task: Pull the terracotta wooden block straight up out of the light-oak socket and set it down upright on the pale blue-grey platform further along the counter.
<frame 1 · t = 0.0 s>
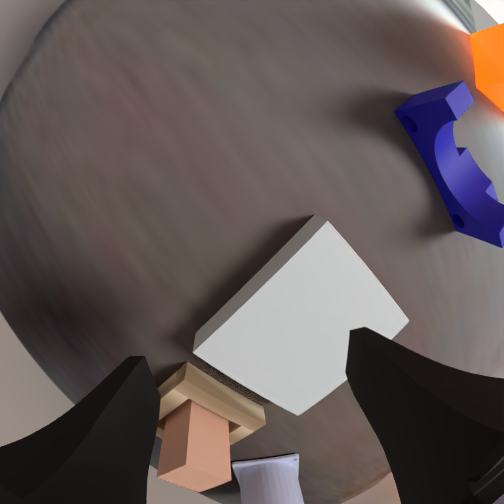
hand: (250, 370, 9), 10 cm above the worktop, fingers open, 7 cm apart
orange juice: (494, 79, 15), on the worktop
socket: (197, 409, 22), on the worktop
cable clip: (442, 160, 18), on the worktop
block: (195, 441, 18), in the socket
platform: (303, 322, 20), on the worktop
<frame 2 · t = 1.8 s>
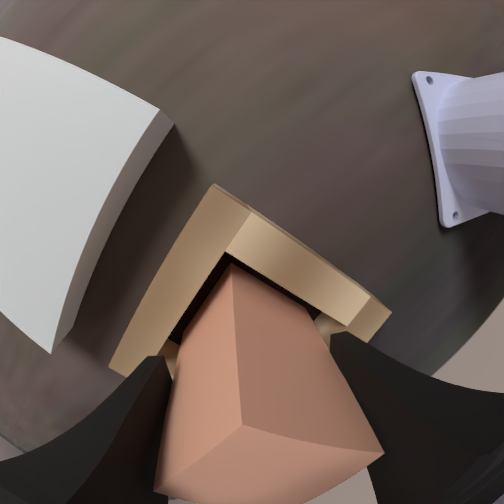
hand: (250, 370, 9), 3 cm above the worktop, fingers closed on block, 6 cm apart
socket: (244, 321, 12), on the worktop
block: (251, 380, 8), in the socket, touching gripper
platform: (22, 174, 9), on the worktop
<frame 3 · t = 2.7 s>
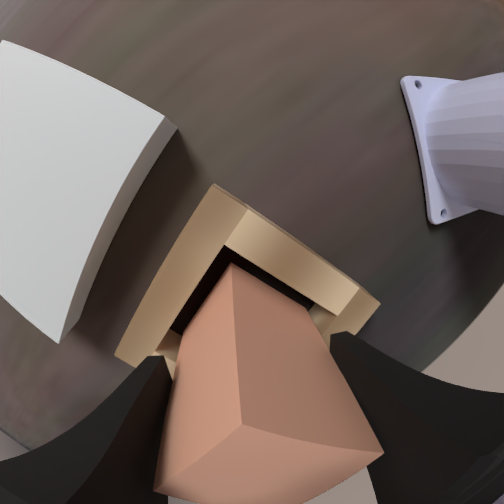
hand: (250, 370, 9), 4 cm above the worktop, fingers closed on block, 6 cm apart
socket: (241, 312, 13), on the worktop
block: (251, 380, 8), in the socket, point 5 cm above the worktop, touching gripper
platform: (32, 174, 10), on the worktop
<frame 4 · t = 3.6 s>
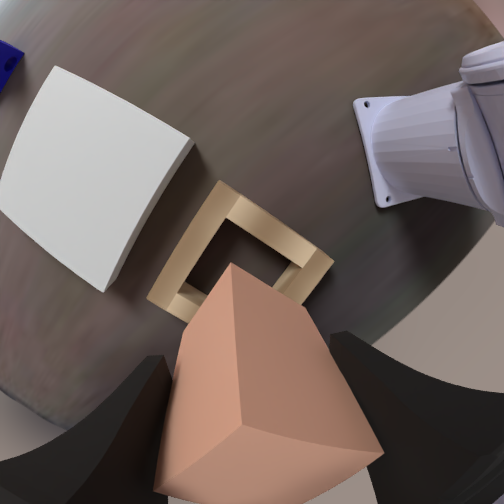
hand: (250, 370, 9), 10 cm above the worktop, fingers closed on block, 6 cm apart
socket: (237, 269, 19), on the worktop
block: (251, 380, 8), point 11 cm above the worktop, touching gripper
platform: (84, 171, 16), on the worktop
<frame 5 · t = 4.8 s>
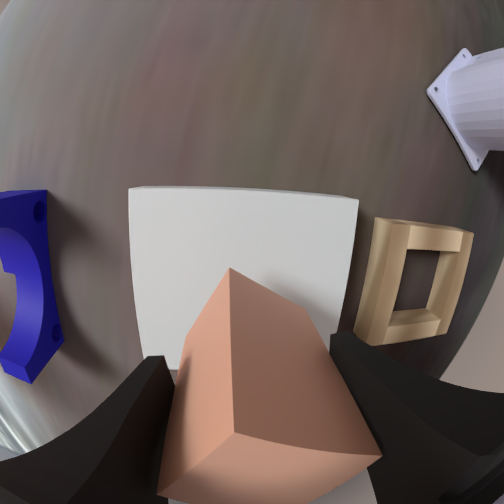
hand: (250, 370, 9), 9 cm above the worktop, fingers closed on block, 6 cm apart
socket: (410, 277, 18), on the worktop
cable clip: (33, 267, 16), on the worktop
block: (252, 384, 8), point 9 cm above the worktop, touching gripper
platform: (239, 277, 17), on the worktop
when the fingers open (7 cm above the worktop, at t = 5.6 s): block stays where it is, resting on platform.
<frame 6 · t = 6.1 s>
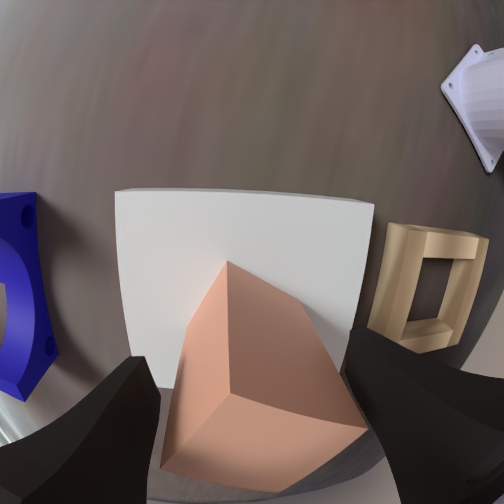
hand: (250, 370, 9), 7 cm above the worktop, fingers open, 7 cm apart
socket: (423, 286, 17), on the worktop
cable clip: (24, 276, 14), on the worktop
block: (248, 367, 9), on the platform, point 6 cm above the worktop
platform: (240, 289, 15), on the worktop
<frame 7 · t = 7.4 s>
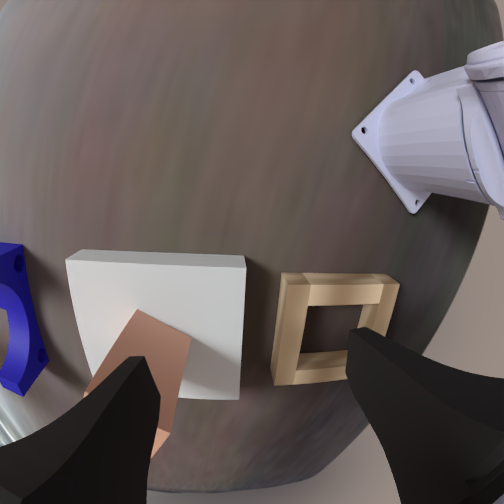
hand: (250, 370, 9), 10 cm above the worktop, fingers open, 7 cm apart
socket: (328, 323, 21), on the worktop
cable clip: (20, 303, 18), on the worktop
block: (137, 382, 13), on the platform, point 7 cm above the worktop
platform: (160, 322, 19), on the worktop
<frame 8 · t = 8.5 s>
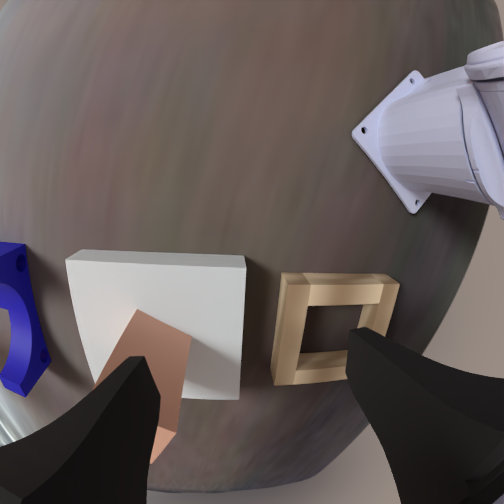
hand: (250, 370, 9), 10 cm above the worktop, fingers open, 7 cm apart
socket: (328, 323, 21), on the worktop
cable clip: (22, 303, 18), on the worktop
block: (140, 382, 13), on the platform, point 6 cm above the worktop
platform: (160, 322, 19), on the worktop
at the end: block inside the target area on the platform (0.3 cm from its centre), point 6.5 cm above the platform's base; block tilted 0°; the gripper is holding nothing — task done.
